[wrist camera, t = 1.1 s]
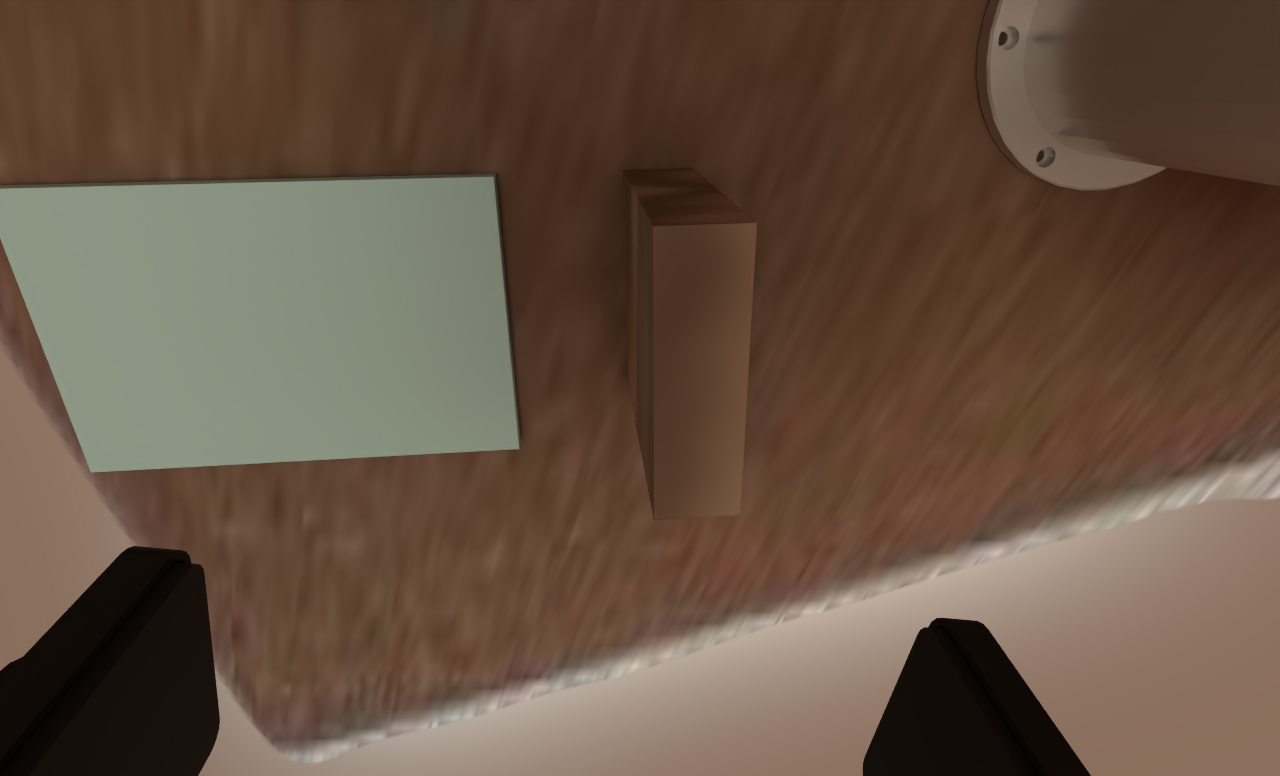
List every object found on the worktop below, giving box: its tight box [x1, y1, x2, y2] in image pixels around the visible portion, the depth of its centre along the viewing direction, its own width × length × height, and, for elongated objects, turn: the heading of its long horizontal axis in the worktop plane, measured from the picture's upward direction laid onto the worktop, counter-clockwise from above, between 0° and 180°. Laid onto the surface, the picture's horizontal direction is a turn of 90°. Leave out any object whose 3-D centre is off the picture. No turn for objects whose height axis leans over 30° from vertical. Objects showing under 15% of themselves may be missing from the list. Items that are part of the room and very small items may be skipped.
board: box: [623, 169, 757, 520], centre depth 28 cm, size 3×10×12 cm, turn 1°
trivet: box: [0, 173, 520, 472], centre depth 32 cm, size 20×13×1 cm, turn 91°
